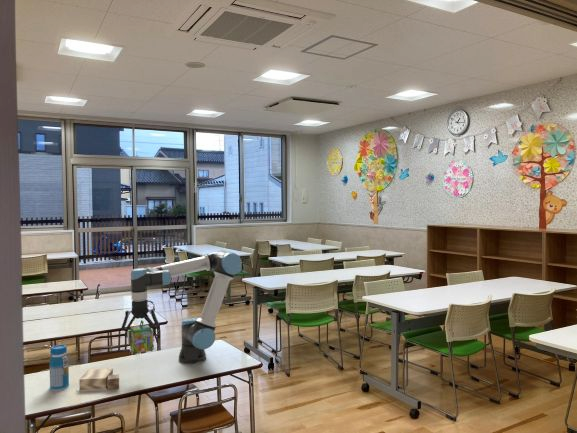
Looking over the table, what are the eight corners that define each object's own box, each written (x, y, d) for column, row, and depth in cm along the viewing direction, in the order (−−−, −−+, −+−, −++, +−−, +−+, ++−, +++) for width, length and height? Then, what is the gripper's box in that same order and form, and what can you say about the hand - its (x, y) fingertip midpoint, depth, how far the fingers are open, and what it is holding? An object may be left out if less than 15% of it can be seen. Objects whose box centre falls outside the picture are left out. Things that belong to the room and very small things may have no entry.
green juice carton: (130, 349, 223) (128, 320, 222) (148, 345, 228) (147, 317, 227) (133, 354, 215) (132, 324, 214) (152, 350, 220) (151, 321, 219)
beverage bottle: (51, 392, 206) (50, 350, 206) (48, 386, 213) (47, 346, 213) (70, 388, 211) (70, 347, 211) (67, 382, 218) (66, 342, 218)
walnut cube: (118, 384, 215) (118, 374, 214) (119, 388, 210) (119, 378, 210) (107, 385, 213) (107, 375, 213) (107, 389, 208) (107, 379, 208)
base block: (113, 378, 222) (112, 368, 222) (105, 388, 210) (105, 378, 210) (88, 379, 220) (87, 369, 220) (79, 389, 209) (79, 379, 208)
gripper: (164, 296, 225) (166, 339, 226) (117, 299, 223) (118, 341, 224) (162, 300, 218) (163, 343, 219) (113, 302, 215) (114, 346, 216)
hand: (141, 342), depth 221 cm, fingers closed on green juice carton, 11 cm apart
